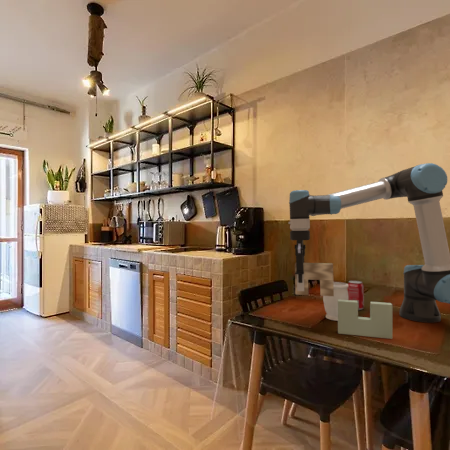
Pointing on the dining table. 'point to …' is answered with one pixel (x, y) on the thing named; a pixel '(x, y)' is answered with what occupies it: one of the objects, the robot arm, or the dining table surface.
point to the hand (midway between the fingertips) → (300, 289)
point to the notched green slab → (365, 319)
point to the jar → (335, 300)
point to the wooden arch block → (317, 278)
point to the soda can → (356, 293)
